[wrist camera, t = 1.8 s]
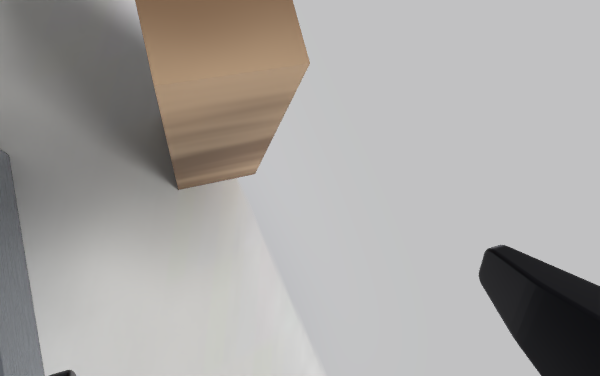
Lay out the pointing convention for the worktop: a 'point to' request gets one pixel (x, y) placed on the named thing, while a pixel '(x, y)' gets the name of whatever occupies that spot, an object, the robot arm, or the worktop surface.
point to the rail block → (15, 289)
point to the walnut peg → (221, 80)
